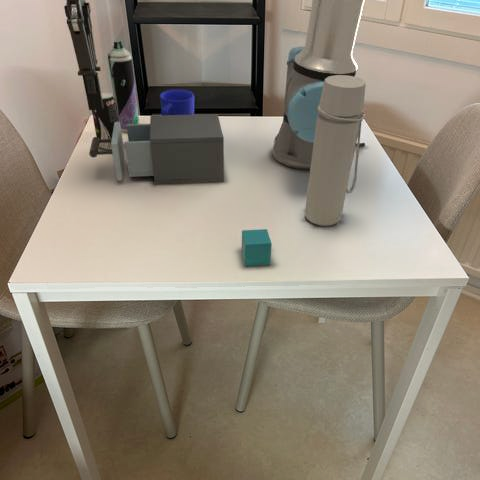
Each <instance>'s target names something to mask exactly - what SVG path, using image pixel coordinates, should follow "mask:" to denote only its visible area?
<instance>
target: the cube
mask: <svg viewBox="0 0 480 480" xmlns="http://www.w3.org/2000/svg"><path fill="white" fill-rule="evenodd" d="M240 247H241V248H240V249H241V250H240V252H241V256H242V260H243V265H244V267H252V266H253V267H255V266H269V265H271V257H272V256H271V255H272V240H271V236H270V234H269V230H268V229H267V228H262V229H260V228H259V229H244V230H243V229H242V230H241V246H240Z"/></svg>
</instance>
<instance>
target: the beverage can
mask: <svg viewBox="0 0 480 480" xmlns="http://www.w3.org/2000/svg"><path fill="white" fill-rule="evenodd" d="M101 95H102V101H103V106H104V108H103V110H91V115H92V120H93V125H94V131H95V137H98V138H99V139H112V135H113V129H114V123H115V122H119V117H118V110H117V104H116V100H115V99H114V95H113V92H110V91H106V90H105V91H104V90H101ZM99 148H101V149H103V150H105V151H112V147H111V143H100V144H99Z"/></svg>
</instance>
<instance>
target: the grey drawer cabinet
mask: <svg viewBox="0 0 480 480" xmlns="http://www.w3.org/2000/svg"><path fill="white" fill-rule="evenodd" d="M149 117H150V119H149V120H150V121H149V124H150V145H151V154H152V163H153V173H154V176H153V180H154V185H175V184H198V183H200V184H202V183H222V182H225V179H224V175H225V173H224V171H225V170H224V167H225V166H224V163H225V162H224V161H225V160H224V158H225V157H224V155H225V154H224V153H225V151H224V148H225V146H224V143H225V140H224V134H223V129H222V125H221V122H220V121H221V120H220V118H219V114H218V113H208V114H207V113H206V114H205V113H203V114H194V115H161V114H160V115H159V114H158V115H150V116H149Z"/></svg>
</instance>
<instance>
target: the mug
mask: <svg viewBox="0 0 480 480" xmlns="http://www.w3.org/2000/svg"><path fill="white" fill-rule="evenodd" d="M159 100H160V105H161V106H160V107H161V109H160V115H195V93H193V92H192V91H190V90H186V89H169V90H165V91H163V92H160V95H159Z"/></svg>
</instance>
